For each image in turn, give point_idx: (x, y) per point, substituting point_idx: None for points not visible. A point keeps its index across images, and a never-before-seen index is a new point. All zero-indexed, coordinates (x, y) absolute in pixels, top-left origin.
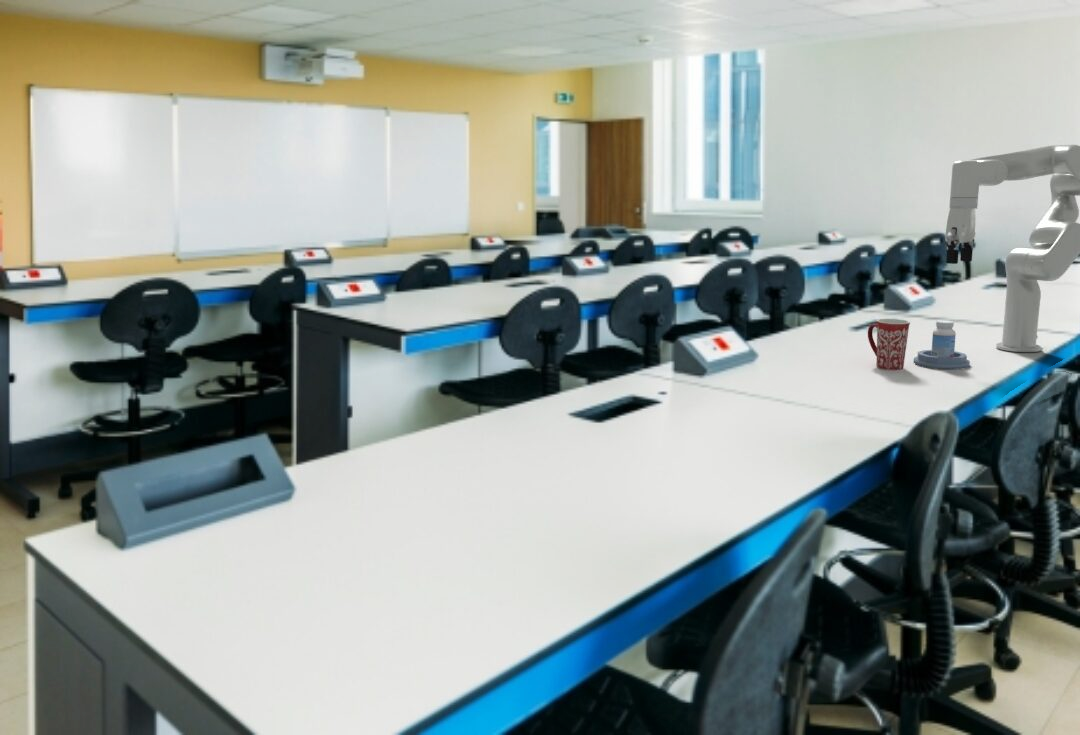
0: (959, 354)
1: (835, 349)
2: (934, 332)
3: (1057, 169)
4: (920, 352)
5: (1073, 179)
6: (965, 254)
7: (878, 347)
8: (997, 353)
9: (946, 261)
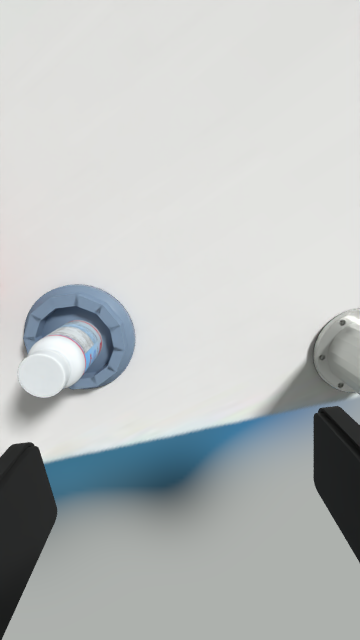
0: (108, 364)
1: (21, 46)
2: (29, 351)
3: None
4: (49, 305)
5: None
6: (352, 497)
7: None
8: (278, 346)
9: (6, 453)
